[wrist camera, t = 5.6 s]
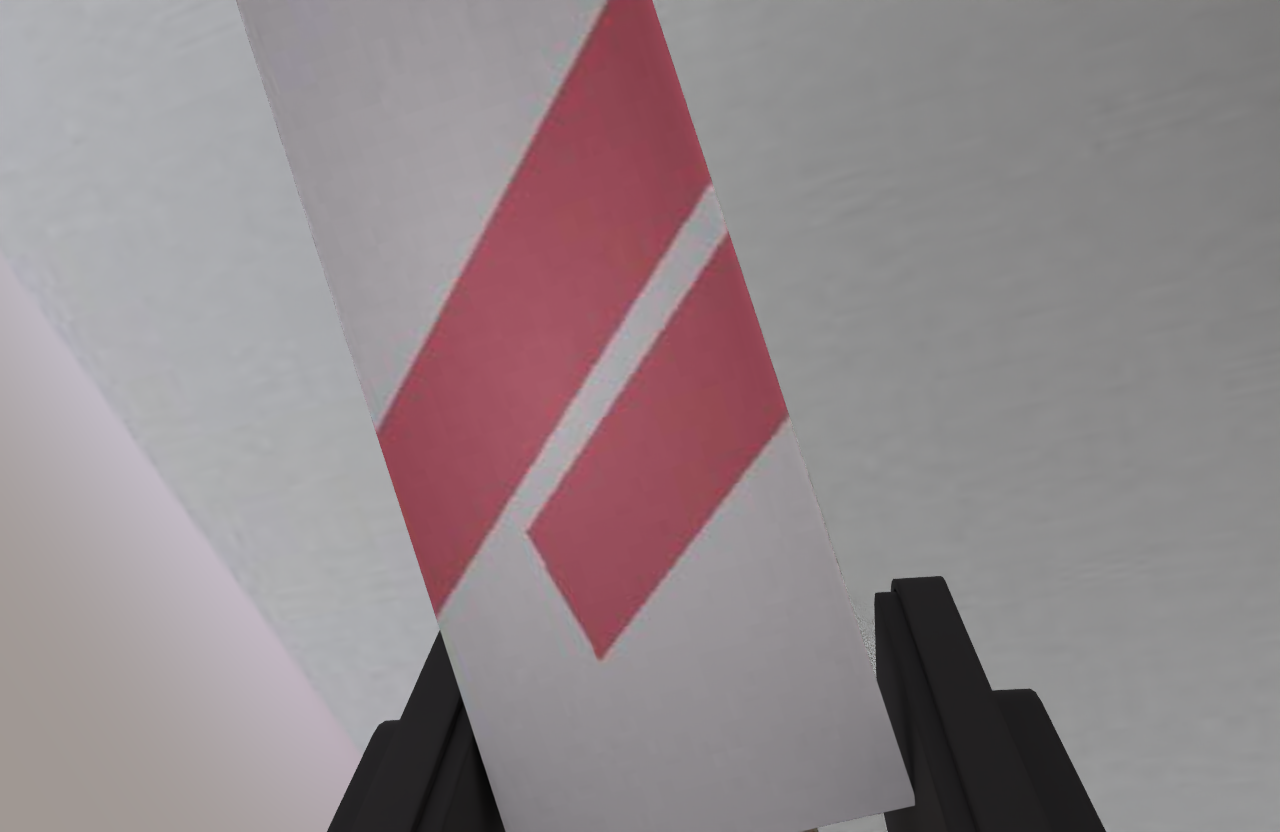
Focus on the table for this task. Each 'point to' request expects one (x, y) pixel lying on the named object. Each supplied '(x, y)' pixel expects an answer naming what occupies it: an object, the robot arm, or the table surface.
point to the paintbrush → (578, 414)
